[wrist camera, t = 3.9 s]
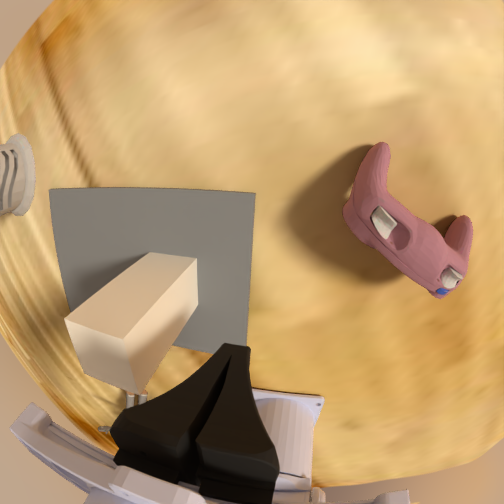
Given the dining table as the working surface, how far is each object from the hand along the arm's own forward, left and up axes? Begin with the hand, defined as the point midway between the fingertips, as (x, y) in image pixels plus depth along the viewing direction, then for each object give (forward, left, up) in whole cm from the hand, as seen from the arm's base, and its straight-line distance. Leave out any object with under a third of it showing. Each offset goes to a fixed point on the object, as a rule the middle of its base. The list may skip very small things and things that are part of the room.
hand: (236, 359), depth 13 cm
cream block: (0, +7, -8) cm, 10 cm away
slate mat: (0, +11, -8) cm, 13 cm away
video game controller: (+7, -10, -8) cm, 15 cm away
